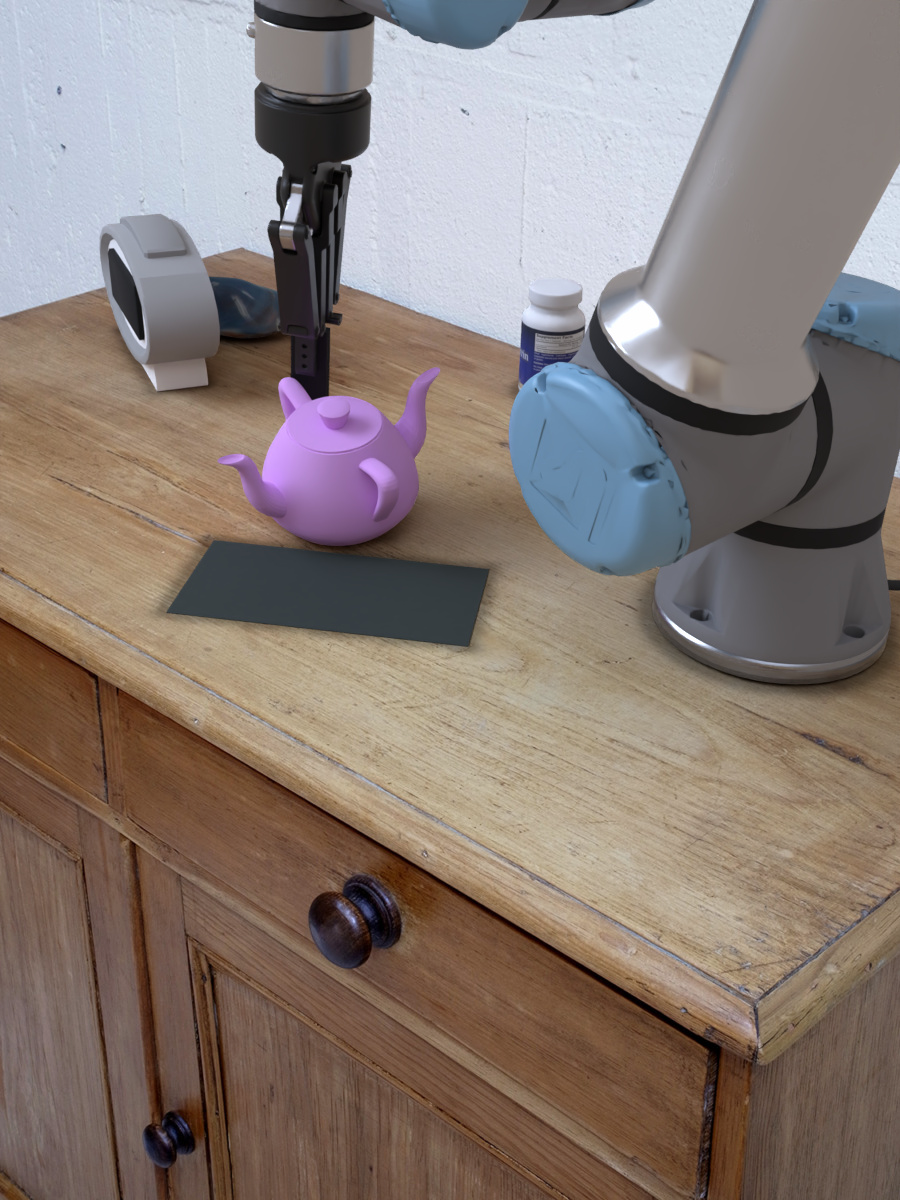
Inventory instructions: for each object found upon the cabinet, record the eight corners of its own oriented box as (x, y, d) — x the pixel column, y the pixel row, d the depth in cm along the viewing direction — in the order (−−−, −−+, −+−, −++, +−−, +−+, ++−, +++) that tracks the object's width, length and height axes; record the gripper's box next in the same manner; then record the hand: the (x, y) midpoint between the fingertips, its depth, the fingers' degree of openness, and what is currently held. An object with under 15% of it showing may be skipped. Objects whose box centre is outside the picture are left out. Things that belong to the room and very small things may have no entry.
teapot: (442, 461, 101) (440, 364, 94) (392, 582, 91) (387, 483, 85) (295, 439, 103) (284, 342, 97) (231, 554, 93) (214, 456, 87)
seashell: (306, 312, 128) (260, 235, 131) (220, 338, 124) (175, 259, 127) (297, 351, 133) (254, 277, 136) (215, 377, 129) (172, 300, 132)
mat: (489, 571, 92) (489, 568, 92) (468, 649, 84) (468, 646, 83) (213, 542, 94) (213, 539, 94) (166, 615, 86) (166, 612, 86)
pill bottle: (519, 378, 122) (525, 273, 117) (580, 382, 122) (589, 277, 117) (515, 402, 117) (522, 294, 112) (580, 406, 117) (589, 297, 112)
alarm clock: (106, 320, 133) (91, 191, 126) (167, 313, 135) (156, 187, 128) (154, 406, 114) (140, 261, 108) (224, 397, 117) (214, 255, 110)
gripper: (284, 50, 89) (285, 360, 104) (225, 106, 80) (235, 440, 94) (391, 65, 89) (377, 375, 103) (345, 123, 79) (336, 457, 93)
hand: (309, 406), depth 99 cm, fingers closed
